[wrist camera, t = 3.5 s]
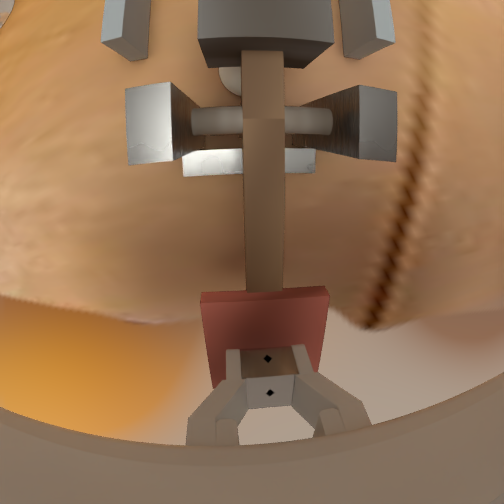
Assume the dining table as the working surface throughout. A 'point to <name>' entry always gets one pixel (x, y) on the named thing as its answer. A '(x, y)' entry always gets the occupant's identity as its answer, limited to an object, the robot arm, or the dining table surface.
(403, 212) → the dining table surface
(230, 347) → the lever
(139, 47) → the grey u-shaped bracket
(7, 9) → the wineglass
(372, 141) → the stand
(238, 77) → the ball
